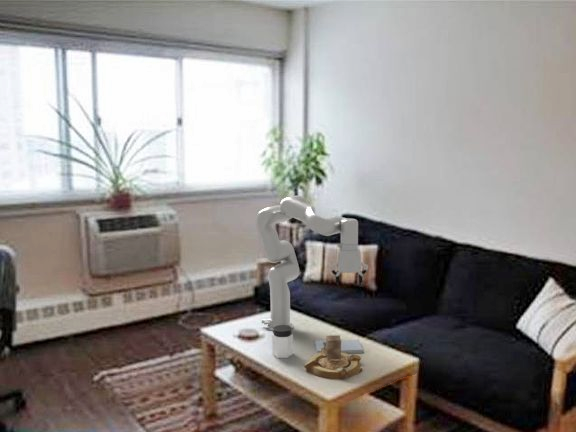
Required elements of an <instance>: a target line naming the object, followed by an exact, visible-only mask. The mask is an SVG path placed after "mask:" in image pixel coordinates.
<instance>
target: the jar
mask: <svg viewBox="0 0 576 432" xmlns="http://www.w3.org/2000/svg"><path fill="white" fill-rule="evenodd" d="M271 342H272V345H271V347H272V348H271V349H272V355H273V356H274V357H275V358H277V359H288V358H290V356H292V355H294V334H293V328H291V327H290V326H288V325H278V326H275V327H274V328H273V331H272V334H271Z"/></svg>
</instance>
